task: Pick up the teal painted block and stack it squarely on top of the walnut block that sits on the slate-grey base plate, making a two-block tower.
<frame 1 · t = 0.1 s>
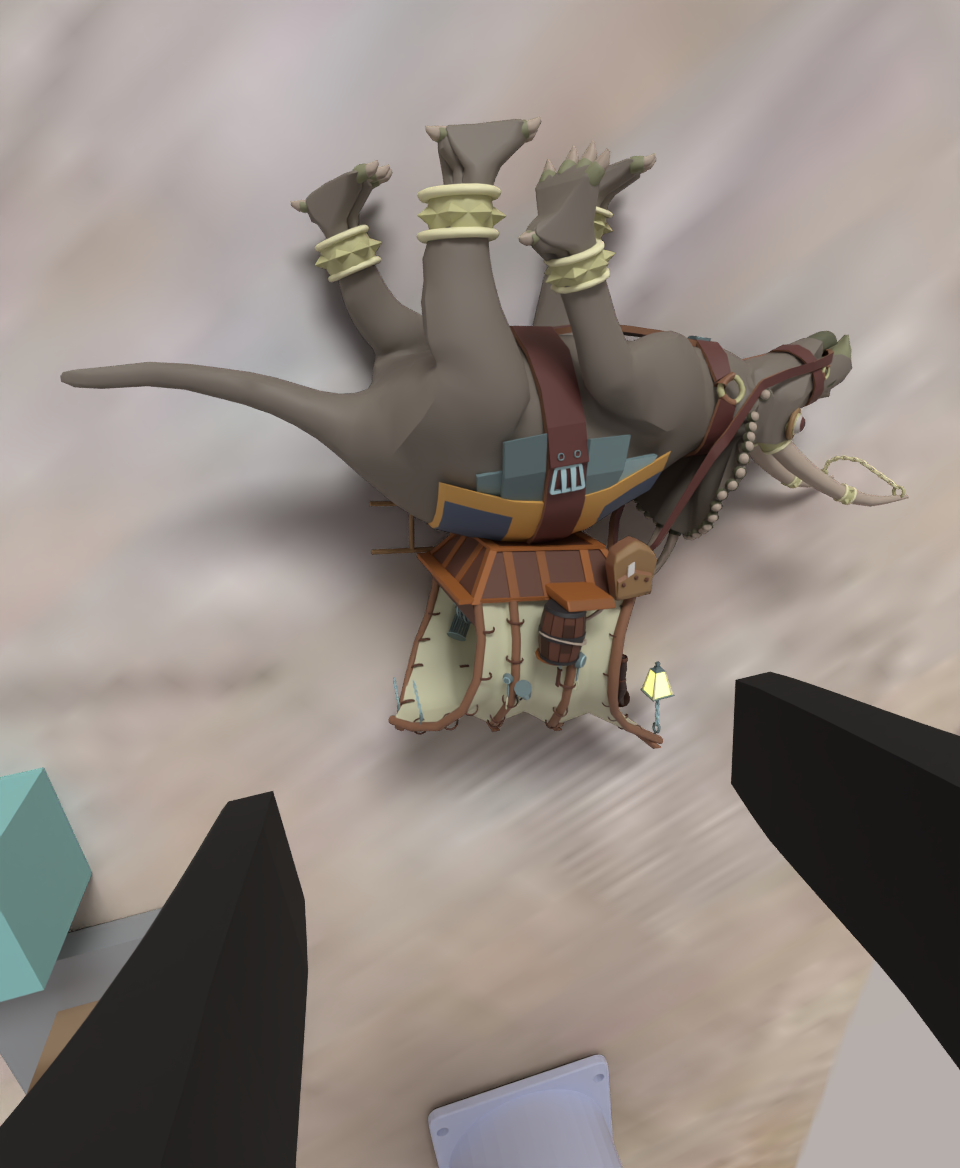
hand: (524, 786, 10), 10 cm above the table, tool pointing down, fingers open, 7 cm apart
walnut block: (145, 1033, 21), point 1 cm above the table, touching base plate
base plate: (152, 1005, 22), on the table
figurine: (530, 499, 20), on the table
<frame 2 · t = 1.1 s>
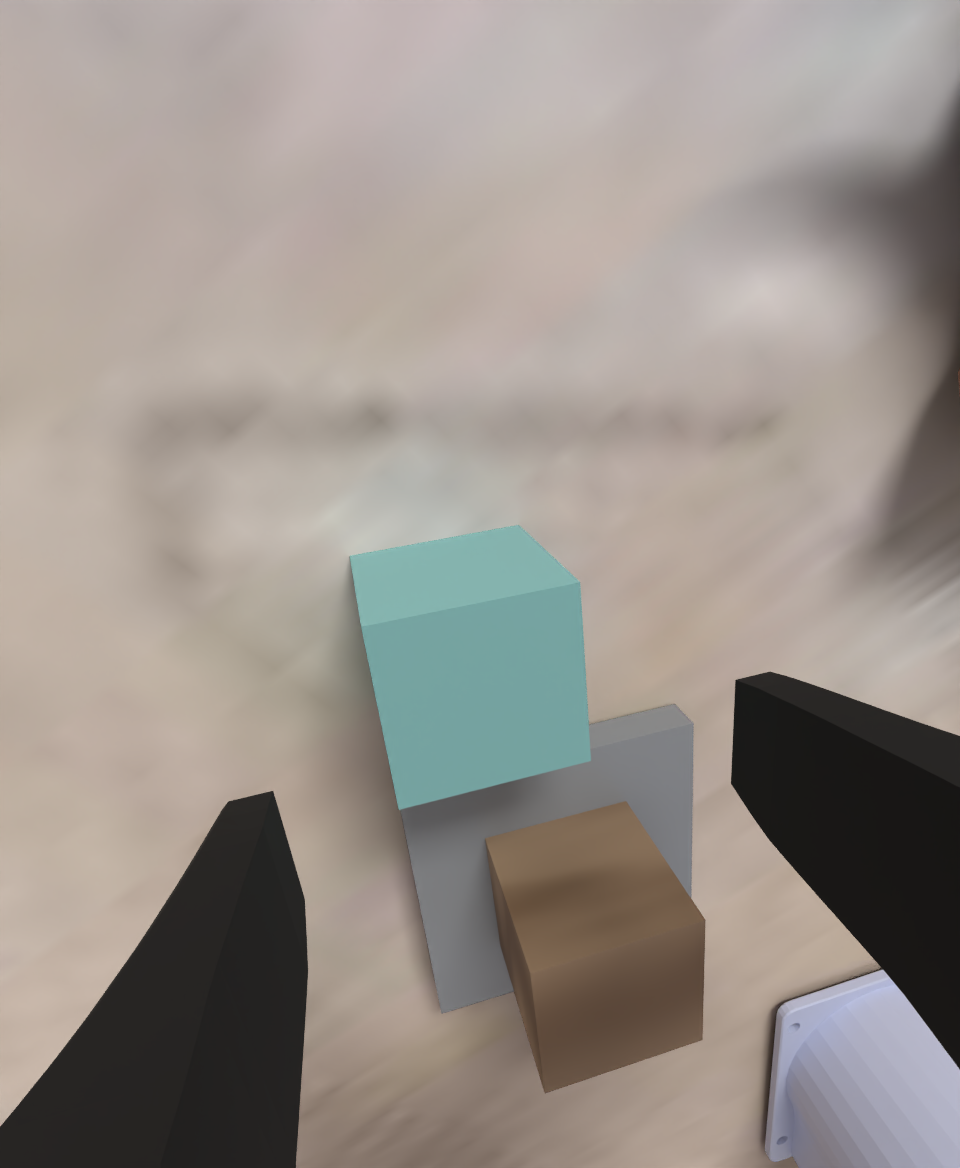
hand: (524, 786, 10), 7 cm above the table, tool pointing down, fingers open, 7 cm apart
walnut block: (561, 875, 18), point 1 cm above the table, touching base plate
base plate: (550, 849, 19), on the table
teal block: (447, 616, 16), on the table
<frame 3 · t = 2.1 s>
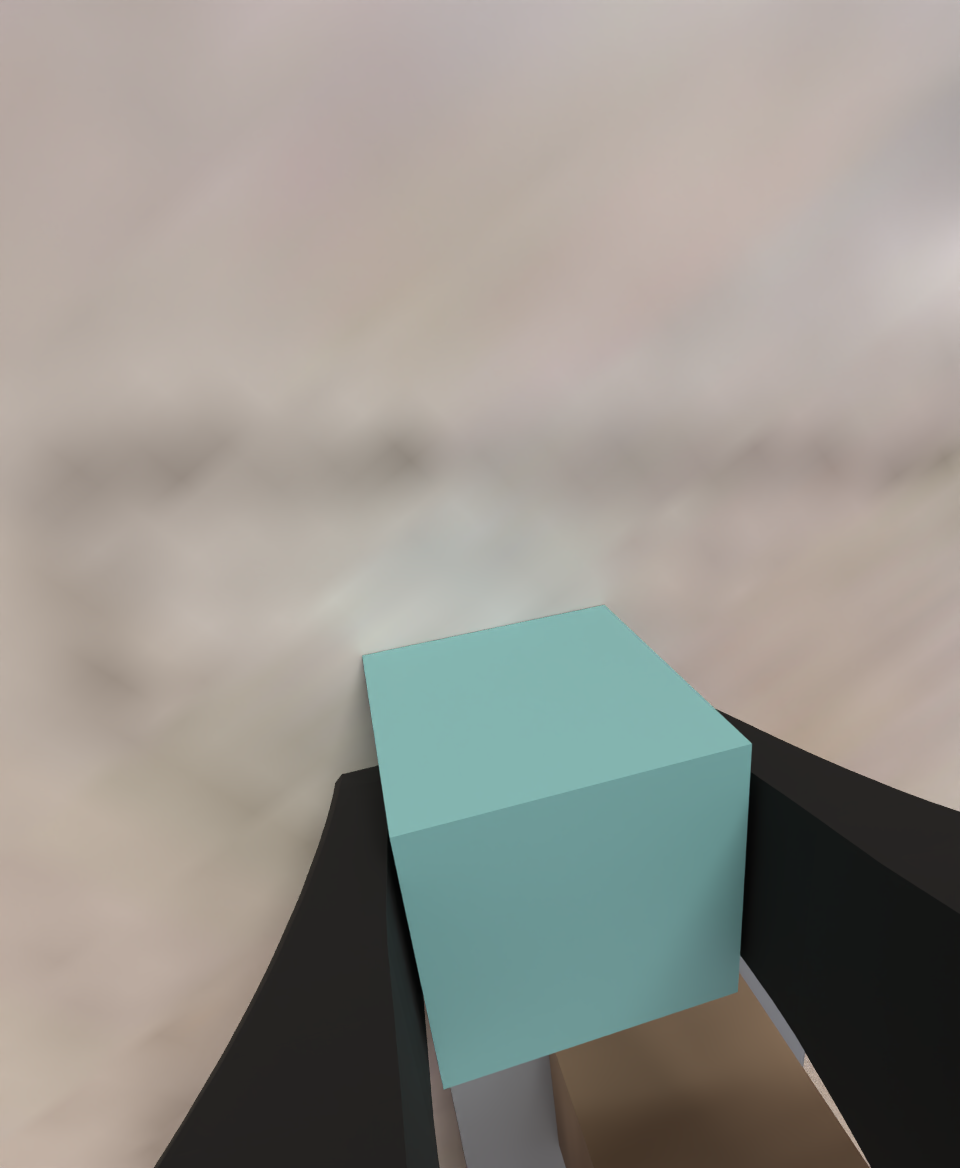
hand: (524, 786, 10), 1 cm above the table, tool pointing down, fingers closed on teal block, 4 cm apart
walnut block: (643, 1056, 14), point 1 cm above the table, touching base plate
base plate: (622, 1011, 15), on the table
teal block: (499, 733, 11), on the table, touching gripper
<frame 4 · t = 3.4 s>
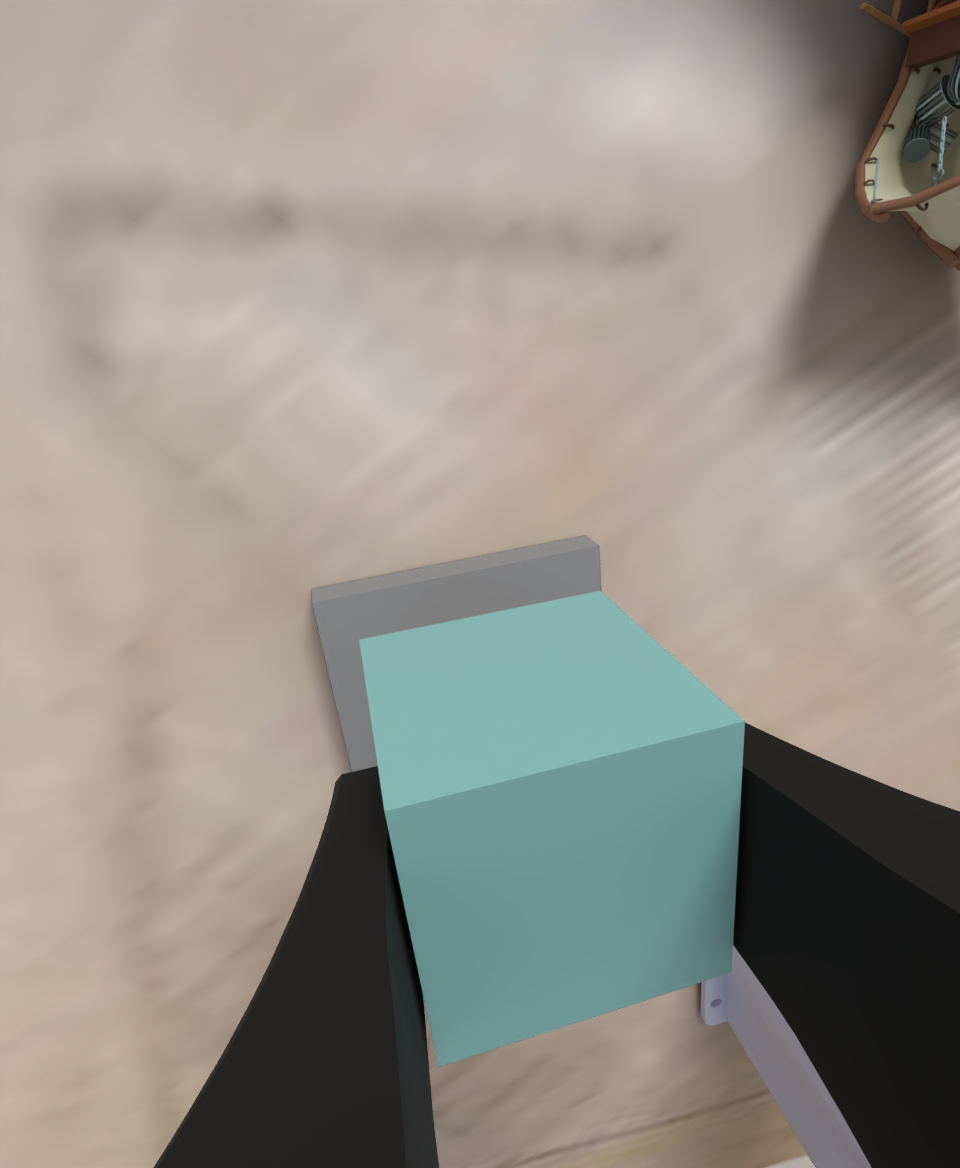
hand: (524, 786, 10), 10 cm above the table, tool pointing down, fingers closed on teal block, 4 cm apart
base plate: (470, 681, 20), on the table
teal block: (496, 719, 11), point 8 cm above the table, touching gripper
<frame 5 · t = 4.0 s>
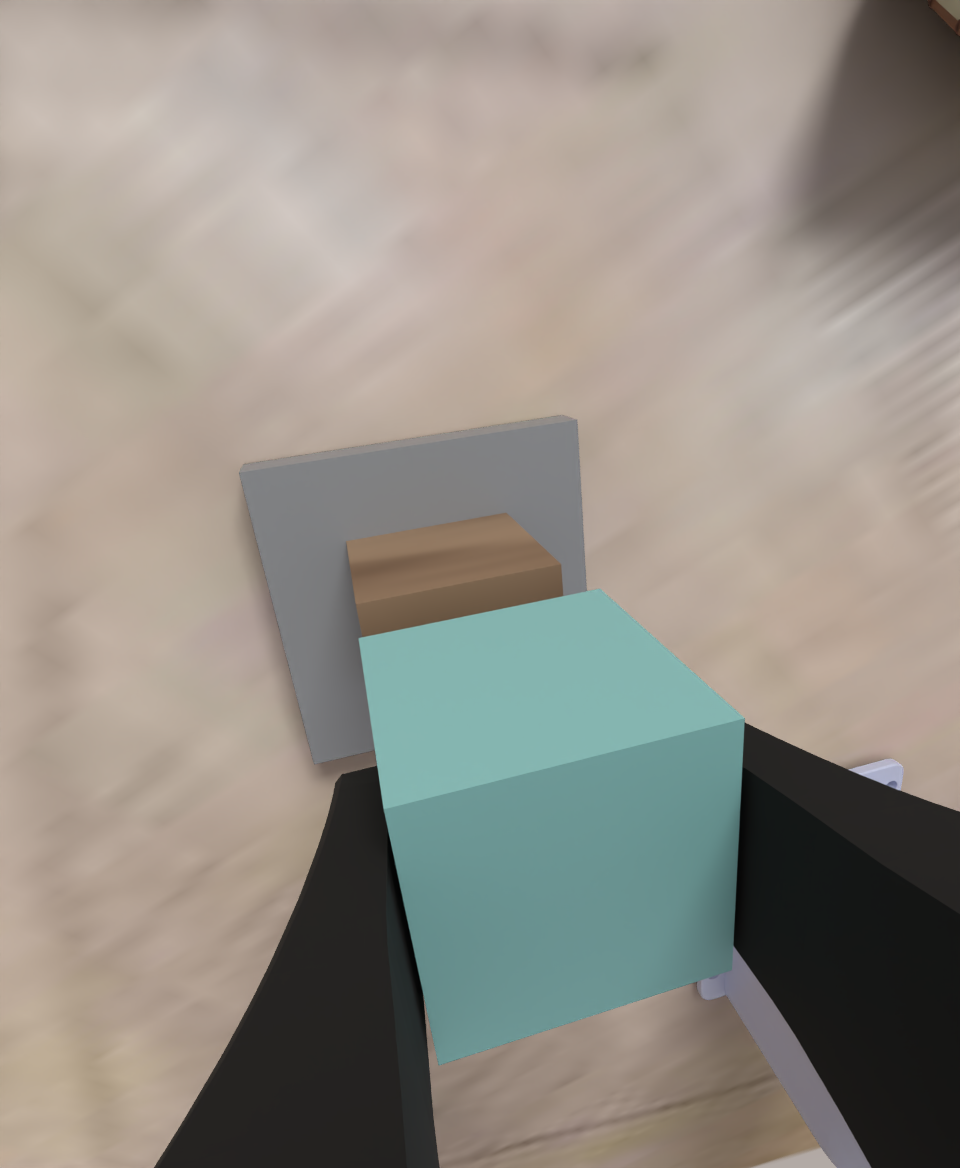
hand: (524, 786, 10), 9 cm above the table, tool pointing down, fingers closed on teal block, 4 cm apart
walnut block: (439, 600, 17), point 1 cm above the table, touching base plate
base plate: (432, 586, 18), on the table
teal block: (496, 717, 11), point 7 cm above the table, touching gripper
when the fingers open (7 cm above the table, at t = 4.6 s): teal block stays where it is, resting on walnut block.
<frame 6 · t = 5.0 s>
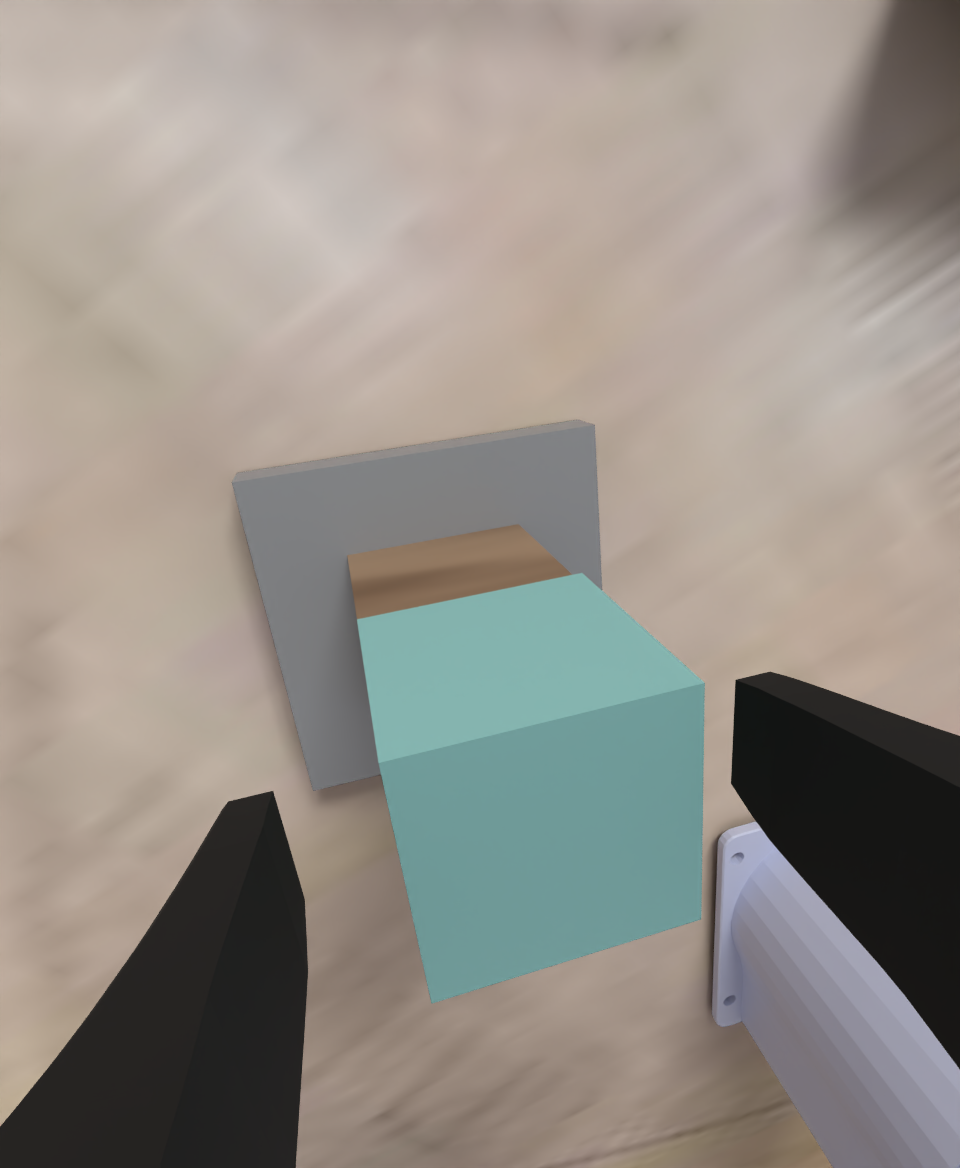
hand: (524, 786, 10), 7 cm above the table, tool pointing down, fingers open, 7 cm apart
walnut block: (446, 617, 16), point 1 cm above the table, touching base plate, teal block
base plate: (439, 602, 17), on the table
teal block: (486, 694, 12), point 5 cm above the table, touching walnut block
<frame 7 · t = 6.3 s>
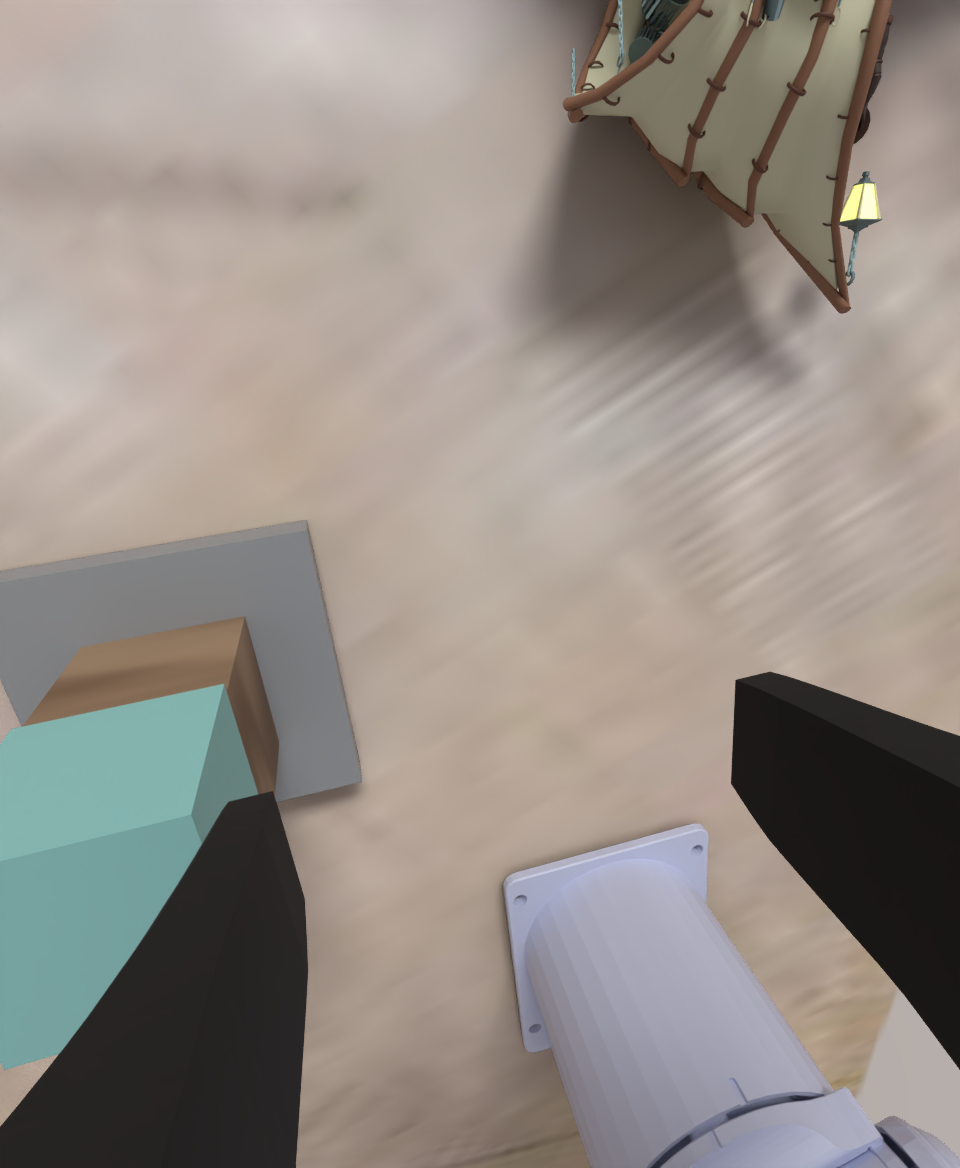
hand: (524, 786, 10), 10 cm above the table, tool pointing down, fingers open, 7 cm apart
walnut block: (186, 697, 18), point 1 cm above the table, touching base plate, teal block
base plate: (192, 679, 18), on the table
teal block: (151, 785, 14), point 5 cm above the table, touching walnut block
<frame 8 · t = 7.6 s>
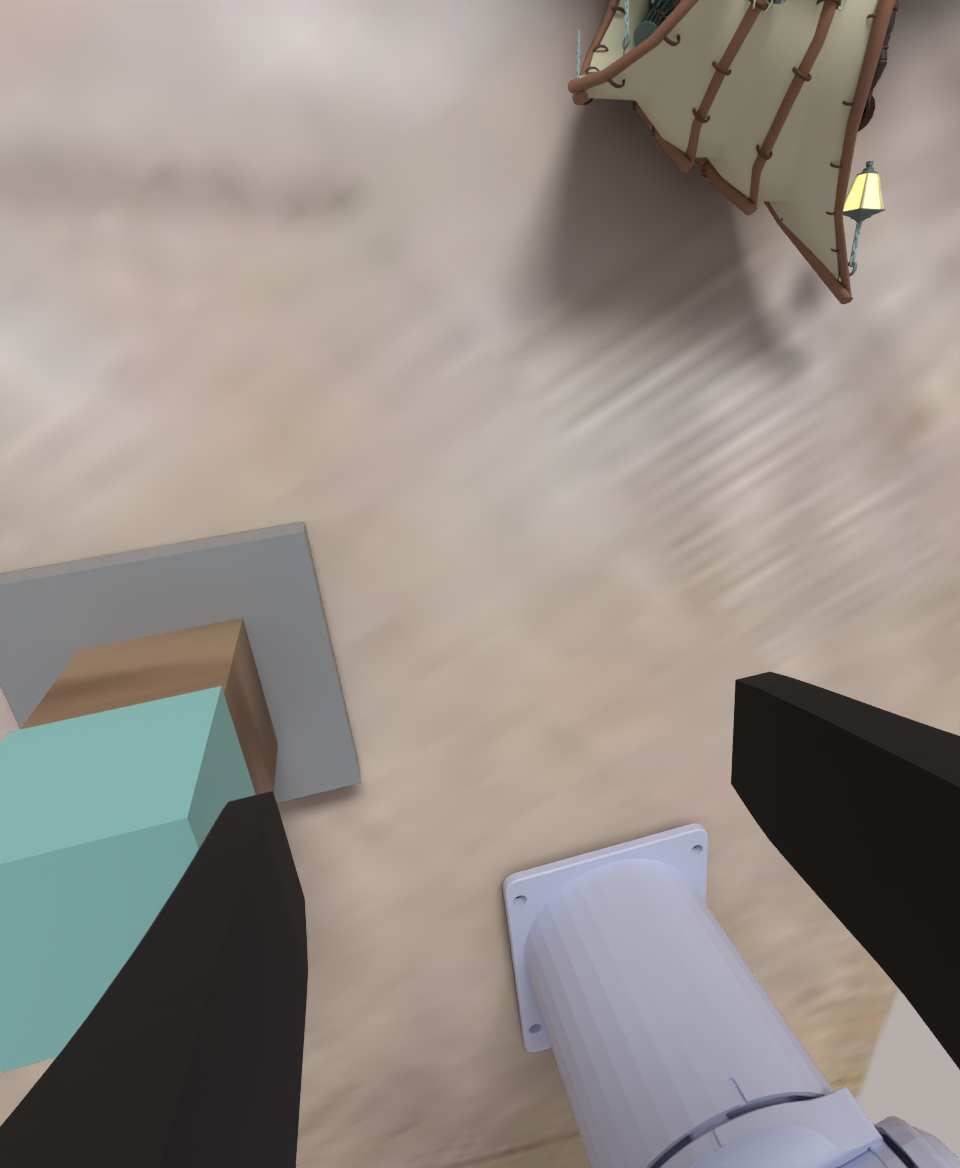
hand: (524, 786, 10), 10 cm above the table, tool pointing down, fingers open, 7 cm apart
walnut block: (184, 699, 18), point 1 cm above the table, touching base plate, teal block
base plate: (191, 681, 18), on the table
teal block: (149, 788, 14), point 5 cm above the table, touching walnut block
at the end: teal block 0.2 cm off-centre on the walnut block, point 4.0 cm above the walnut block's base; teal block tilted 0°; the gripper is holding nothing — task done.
